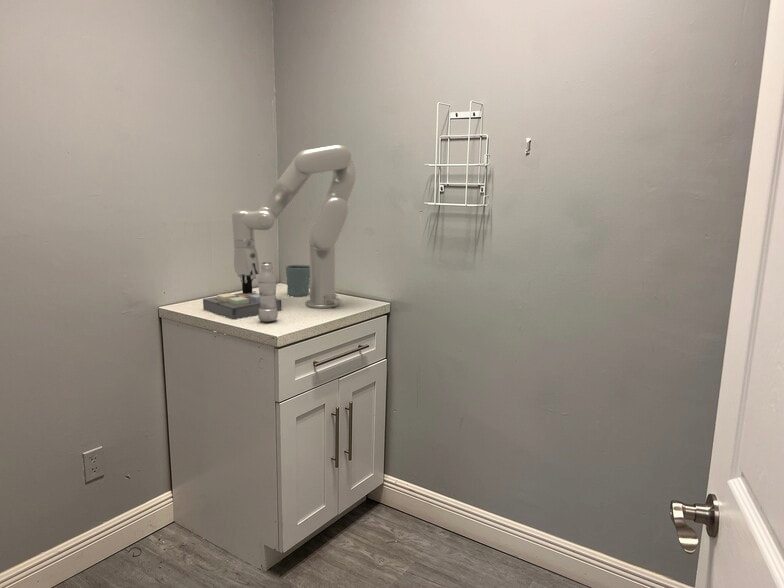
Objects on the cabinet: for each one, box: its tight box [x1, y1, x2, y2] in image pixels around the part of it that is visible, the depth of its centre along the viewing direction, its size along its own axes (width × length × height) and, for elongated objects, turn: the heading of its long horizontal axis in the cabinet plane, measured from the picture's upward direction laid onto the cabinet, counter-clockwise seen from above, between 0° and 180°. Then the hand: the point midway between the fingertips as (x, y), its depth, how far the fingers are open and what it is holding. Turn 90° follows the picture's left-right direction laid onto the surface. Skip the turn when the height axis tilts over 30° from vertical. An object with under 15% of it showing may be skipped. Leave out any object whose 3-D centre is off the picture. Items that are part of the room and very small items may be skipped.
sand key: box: [216, 293, 236, 302], centre depth 212 cm, size 5×5×2 cm
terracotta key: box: [236, 294, 251, 298], centre depth 218 cm, size 5×5×2 cm
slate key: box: [248, 293, 260, 302], centre depth 212 cm, size 5×5×2 cm
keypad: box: [202, 291, 283, 320], centre depth 212 cm, size 20×20×4 cm
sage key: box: [229, 297, 249, 305], centre depth 206 cm, size 5×5×2 cm
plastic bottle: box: [256, 261, 279, 323], centre depth 195 cm, size 6×7×20 cm
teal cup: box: [285, 264, 310, 298], centre depth 240 cm, size 10×10×12 cm
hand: (247, 292), depth 217 cm, fingers closed
